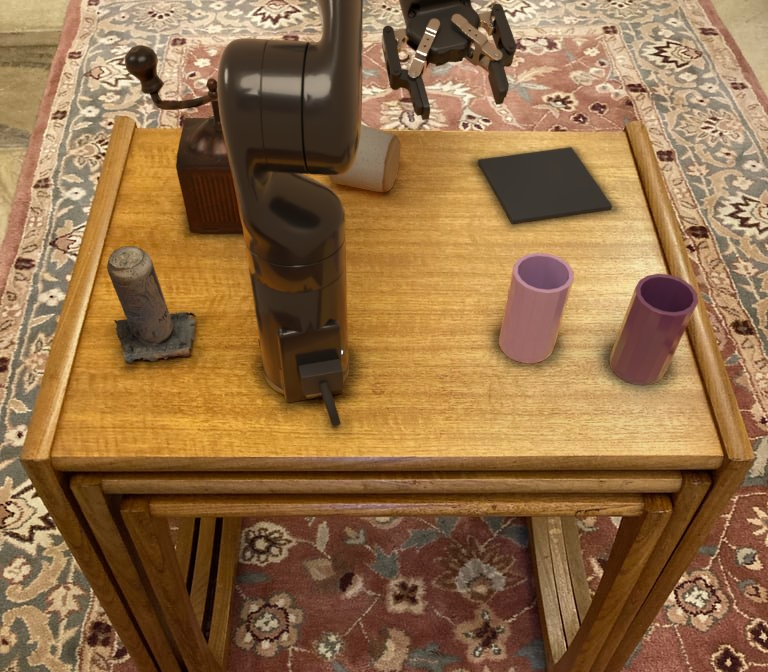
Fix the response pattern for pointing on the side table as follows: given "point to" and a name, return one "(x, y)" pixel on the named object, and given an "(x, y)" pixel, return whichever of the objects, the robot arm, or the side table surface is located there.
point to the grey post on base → (146, 310)
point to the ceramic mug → (373, 161)
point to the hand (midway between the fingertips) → (464, 107)
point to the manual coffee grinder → (195, 153)
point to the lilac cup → (535, 307)
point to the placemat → (543, 185)
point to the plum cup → (652, 328)
